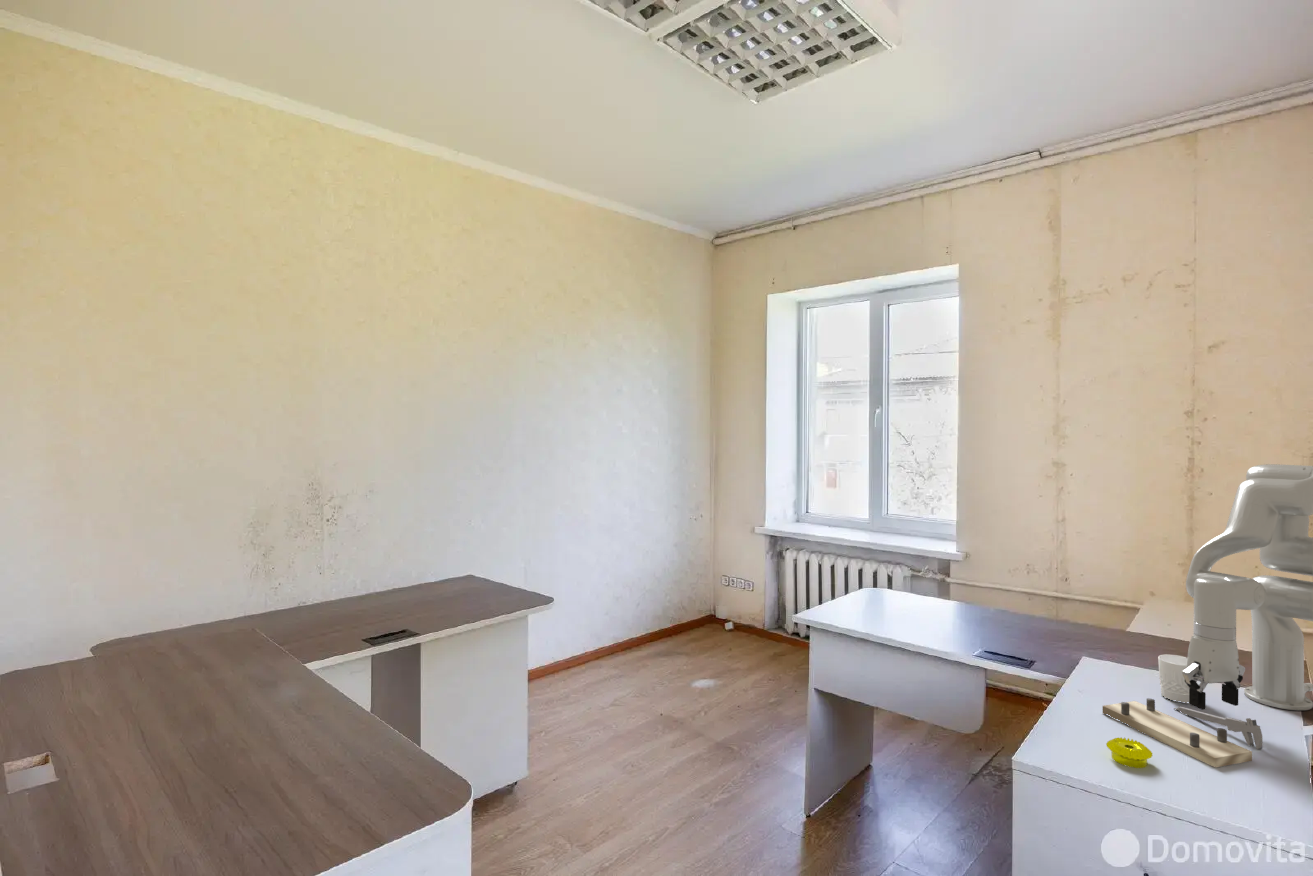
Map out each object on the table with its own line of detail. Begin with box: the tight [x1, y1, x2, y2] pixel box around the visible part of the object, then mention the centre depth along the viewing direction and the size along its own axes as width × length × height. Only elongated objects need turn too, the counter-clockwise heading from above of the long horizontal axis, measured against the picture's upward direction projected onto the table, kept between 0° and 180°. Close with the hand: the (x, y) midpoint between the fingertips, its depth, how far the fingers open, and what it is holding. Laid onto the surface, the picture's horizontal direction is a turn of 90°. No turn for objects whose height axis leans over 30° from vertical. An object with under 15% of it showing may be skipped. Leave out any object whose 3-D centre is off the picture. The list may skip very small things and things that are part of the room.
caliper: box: [1173, 706, 1264, 750], centre depth 151 cm, size 20×1×6 cm, turn 7°
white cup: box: [1157, 654, 1189, 704], centre depth 167 cm, size 8×8×10 cm
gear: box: [1105, 737, 1153, 769], centre depth 138 cm, size 8×4×8 cm
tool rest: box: [1102, 697, 1253, 768], centre depth 148 cm, size 10×26×4 cm, turn 13°
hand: (1213, 705), depth 150 cm, fingers open, 9 cm apart
